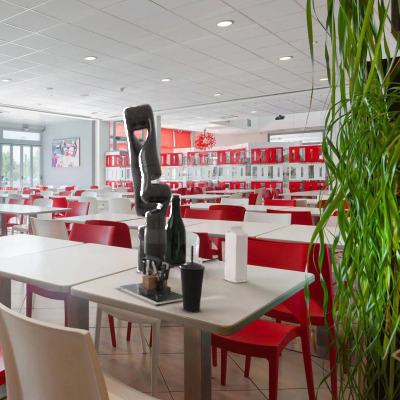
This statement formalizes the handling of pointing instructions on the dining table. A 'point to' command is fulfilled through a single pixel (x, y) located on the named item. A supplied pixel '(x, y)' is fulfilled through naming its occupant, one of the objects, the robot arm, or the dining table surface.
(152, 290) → the eraser
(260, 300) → the dining table surface
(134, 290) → the chalkboard
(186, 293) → the drinking cup
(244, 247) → the milk
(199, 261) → the container set
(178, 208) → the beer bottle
